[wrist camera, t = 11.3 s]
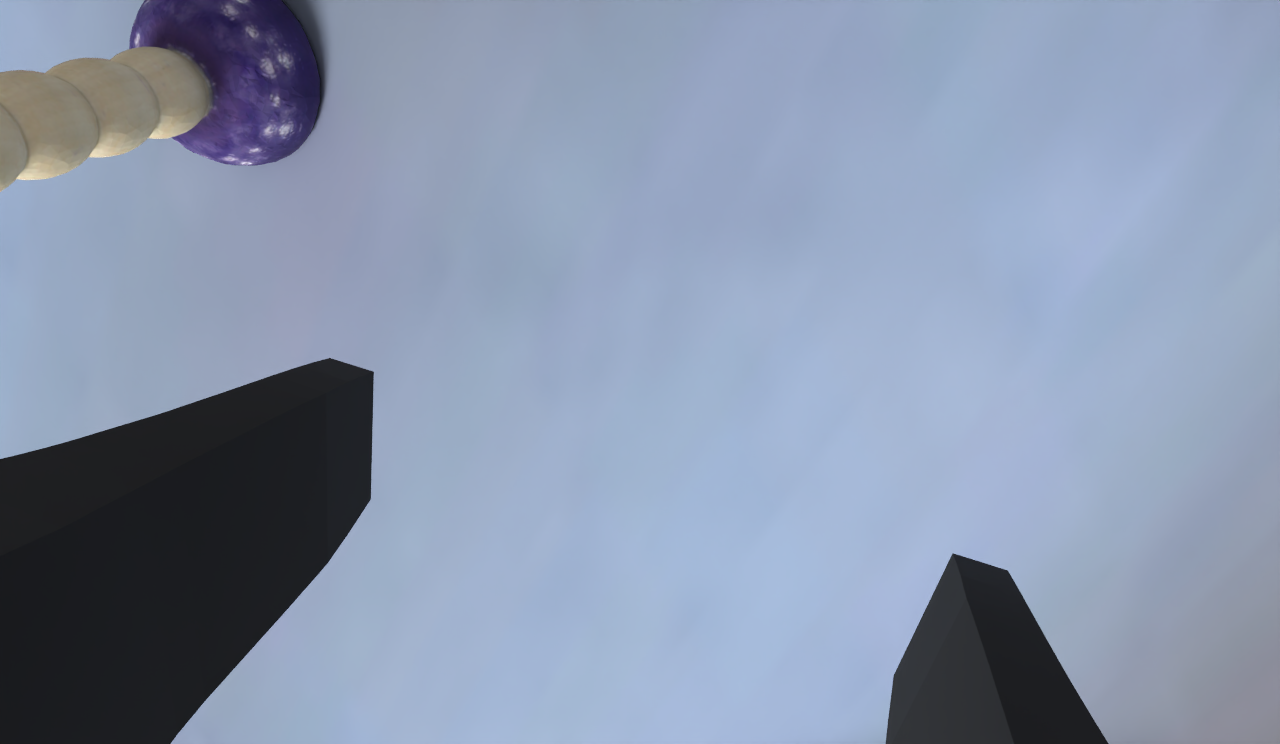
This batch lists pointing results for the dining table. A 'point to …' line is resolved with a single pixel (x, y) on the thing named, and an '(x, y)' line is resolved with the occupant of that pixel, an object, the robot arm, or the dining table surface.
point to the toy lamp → (169, 91)
